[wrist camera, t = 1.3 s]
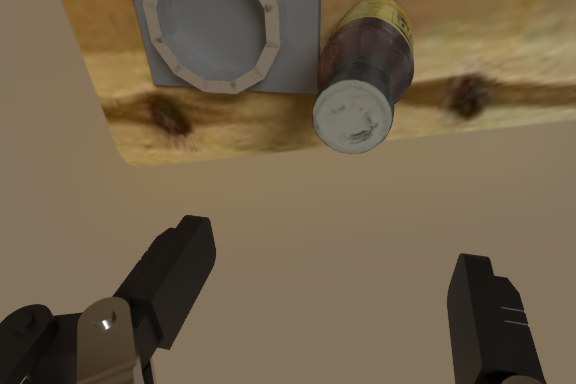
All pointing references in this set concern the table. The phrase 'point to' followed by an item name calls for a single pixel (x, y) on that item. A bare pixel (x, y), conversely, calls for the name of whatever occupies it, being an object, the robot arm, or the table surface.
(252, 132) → the table surface
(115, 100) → the table surface
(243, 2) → the charcoal base
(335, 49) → the sauce bottle
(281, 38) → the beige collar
